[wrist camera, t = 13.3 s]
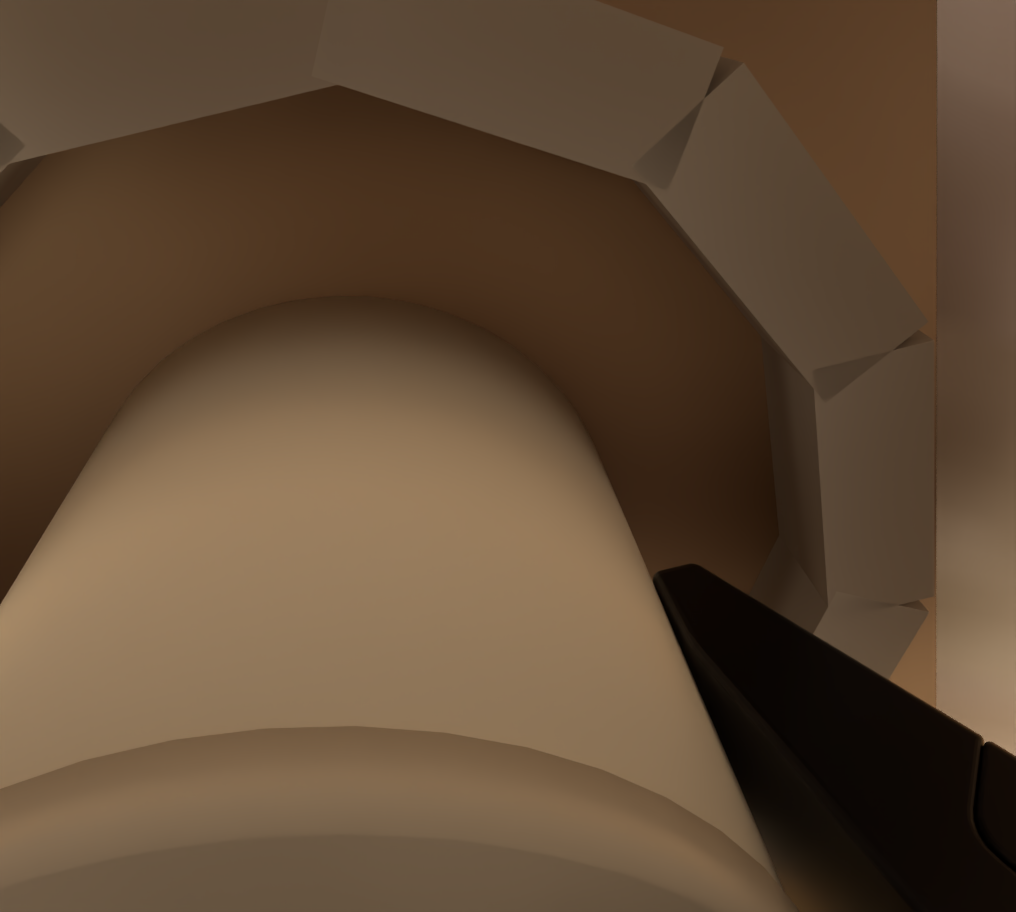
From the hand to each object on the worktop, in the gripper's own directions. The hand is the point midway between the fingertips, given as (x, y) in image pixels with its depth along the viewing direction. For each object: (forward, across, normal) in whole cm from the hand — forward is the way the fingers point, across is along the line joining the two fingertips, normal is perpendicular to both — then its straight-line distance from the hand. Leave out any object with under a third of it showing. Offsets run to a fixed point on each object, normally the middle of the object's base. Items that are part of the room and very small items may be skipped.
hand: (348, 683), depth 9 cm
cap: (+2, 0, 0) cm, 2 cm away
